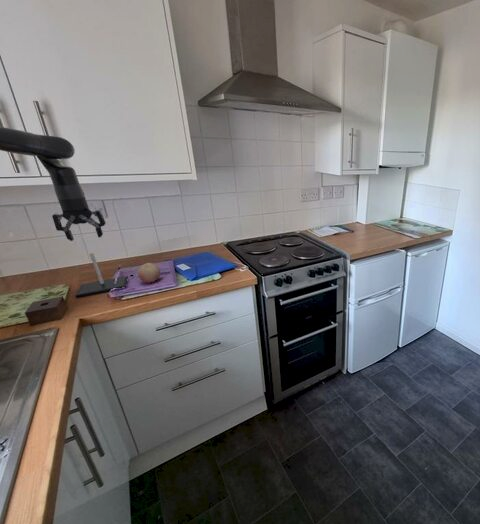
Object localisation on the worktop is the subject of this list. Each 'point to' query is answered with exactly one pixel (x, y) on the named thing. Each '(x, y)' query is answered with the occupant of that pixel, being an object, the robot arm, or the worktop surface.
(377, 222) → the worktop surface
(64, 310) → the pen holder
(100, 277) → the stylus
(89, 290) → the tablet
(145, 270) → the fruit
